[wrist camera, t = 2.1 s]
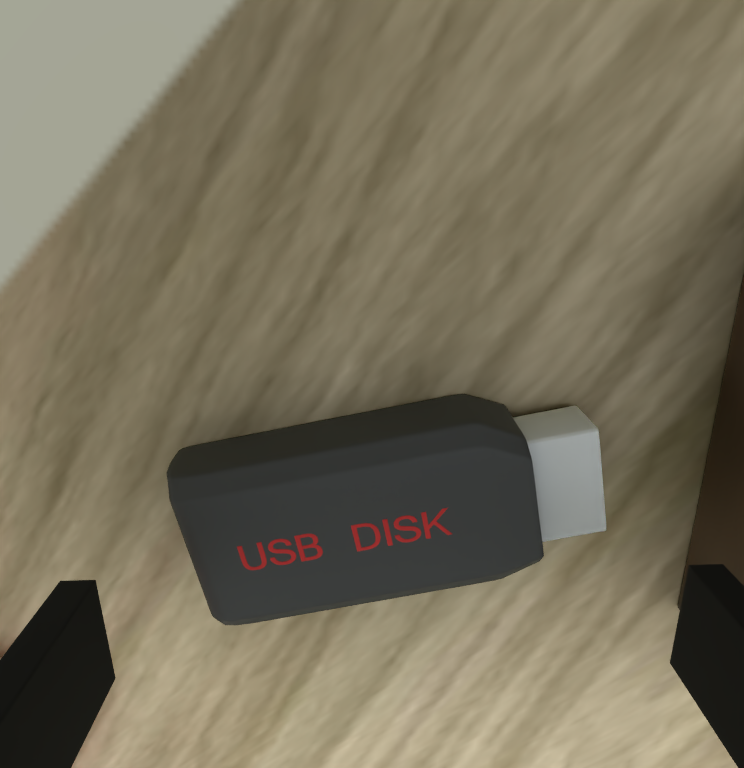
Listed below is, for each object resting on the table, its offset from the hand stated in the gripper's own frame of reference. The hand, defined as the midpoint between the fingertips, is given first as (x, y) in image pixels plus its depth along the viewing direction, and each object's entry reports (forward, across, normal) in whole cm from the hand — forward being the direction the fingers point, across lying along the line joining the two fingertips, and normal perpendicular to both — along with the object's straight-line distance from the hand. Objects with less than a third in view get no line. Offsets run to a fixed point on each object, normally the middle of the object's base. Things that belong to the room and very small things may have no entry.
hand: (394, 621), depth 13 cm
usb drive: (+6, 0, 0) cm, 6 cm away
